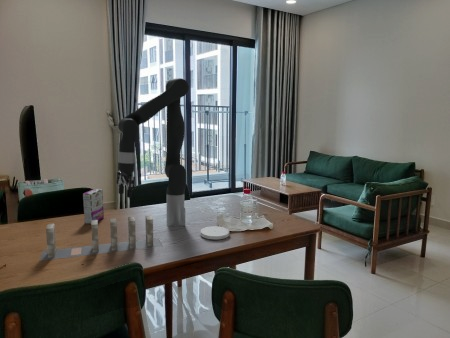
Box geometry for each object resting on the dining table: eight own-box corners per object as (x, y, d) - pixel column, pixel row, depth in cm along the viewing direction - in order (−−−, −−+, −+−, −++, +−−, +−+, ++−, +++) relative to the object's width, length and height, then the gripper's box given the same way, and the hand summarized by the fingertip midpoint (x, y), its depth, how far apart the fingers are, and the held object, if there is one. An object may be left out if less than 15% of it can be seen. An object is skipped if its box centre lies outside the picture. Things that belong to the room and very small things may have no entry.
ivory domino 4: (151, 240, 154) (150, 215, 152) (153, 245, 148) (153, 219, 146) (145, 241, 153) (145, 215, 151) (147, 246, 147) (147, 219, 145)
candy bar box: (95, 217, 188) (94, 188, 185) (104, 218, 187) (103, 189, 184) (83, 223, 177) (82, 193, 174) (92, 224, 176) (91, 193, 173)
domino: (56, 251, 140) (54, 223, 138) (54, 257, 134) (52, 228, 132) (49, 251, 139) (47, 224, 137) (47, 257, 133) (45, 228, 131)
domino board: (158, 240, 157) (158, 237, 157) (162, 248, 148) (162, 245, 148) (42, 253, 140) (42, 250, 140) (39, 263, 131) (39, 260, 130)
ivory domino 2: (116, 244, 148) (115, 218, 146) (117, 249, 143) (116, 222, 141) (111, 245, 147) (110, 218, 145) (111, 250, 142) (110, 223, 140)
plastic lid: (206, 243, 156) (207, 238, 155) (196, 233, 168) (196, 228, 168) (233, 239, 162) (234, 234, 161) (221, 229, 174) (221, 224, 174)
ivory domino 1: (98, 246, 146) (97, 219, 144) (98, 251, 140) (97, 224, 138) (92, 247, 145) (91, 220, 143) (92, 252, 139) (91, 224, 137)
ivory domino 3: (134, 242, 151) (133, 216, 149) (135, 247, 145) (135, 220, 143) (128, 243, 150) (128, 217, 148) (130, 248, 145) (129, 221, 143)
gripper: (141, 163, 155) (139, 198, 157) (127, 159, 165) (125, 191, 167) (125, 163, 150) (124, 199, 152) (112, 159, 160) (111, 193, 162)
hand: (125, 195), depth 159 cm, fingers open, 8 cm apart
